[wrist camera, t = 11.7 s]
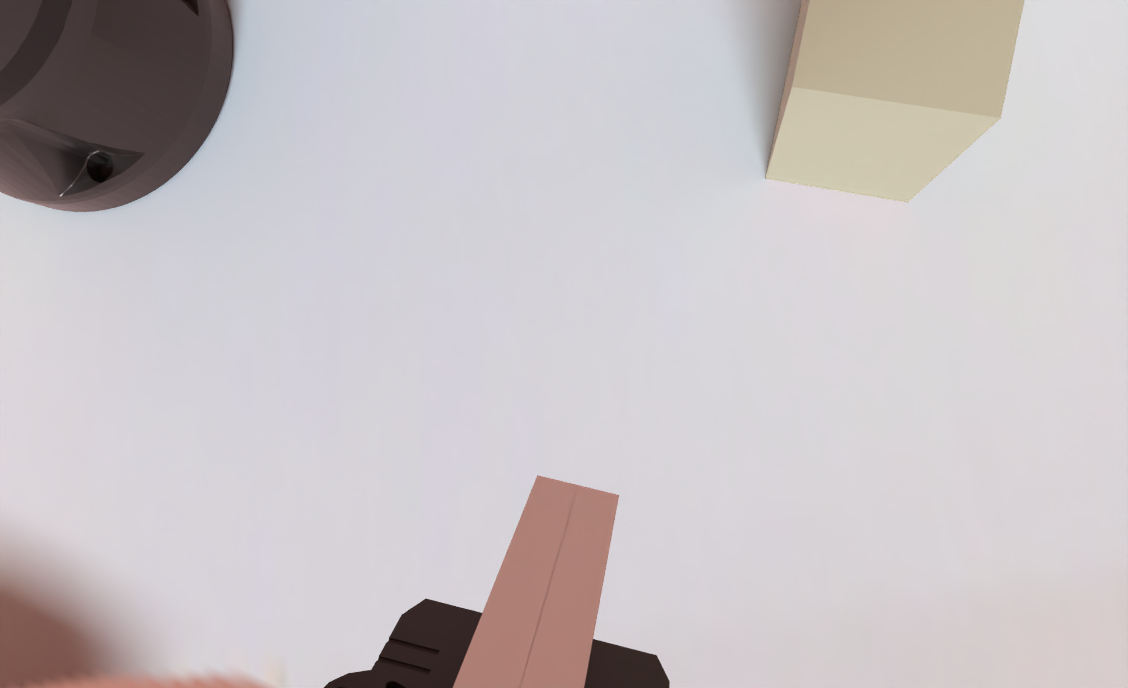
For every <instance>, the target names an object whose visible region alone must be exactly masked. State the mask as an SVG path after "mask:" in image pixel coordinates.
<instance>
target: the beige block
mask: <svg viewBox="0 0 1128 688" xmlns="http://www.w3.org/2000/svg"><path fill="white" fill-rule="evenodd" d="M1023 4H1024V0H802V3H801V7H800V12H799V17H798V22H797V27H796V32H795V37H794V42H793V46H792V51H791V56H790V61H789V66H788V71H787V76H786V81H785V85H784V90H783V95H782V100H781V105H780V110H779V115H778V119H777V124H776V129H775V134H774V139H773V144H772V149H771V154H770V158H769V163H768V168H767V173H766V178H765V179H770V180H776V181H782V182H788V183H794V184H800V185H806V186H812V187H818V188H824V189H830V190H836V191H842V192H848V193H854V194H860V195H866V196H872V197H878V198H883V199H889V200H895V201H901V202H907V203H908V202H909V201H910V200H911V199H912V198H913V197H914V196H915V195H917V194H918V193H919V192H920V191H921V190H922V189H923V188H924V187H925V186H926V185H928V184H929V183H930V182H931V181H932V180H933V179H934V178H935V177H936V176H937V175H939V174H940V173H941V172H942V171H943V170H944V169H945V168H946V167H947V166H948V165H950V164H951V163H952V162H953V161H954V160H955V159H956V158H957V157H958V156H959V155H961V154H962V153H963V152H964V151H965V150H966V149H967V148H968V147H969V146H970V145H972V144H973V143H974V142H975V141H976V140H977V139H978V138H979V137H980V136H981V135H983V134H984V133H985V132H986V131H987V130H988V129H989V128H990V127H991V126H993V125H994V124H995V123H996V122H997V121H998V120H999V119H1000V118H1001V113H1002V108H1003V103H1004V99H1005V94H1006V89H1007V84H1008V79H1009V74H1010V69H1011V64H1012V59H1013V54H1014V49H1015V44H1016V39H1017V34H1018V29H1019V24H1020V19H1021V14H1022V9H1023Z"/></svg>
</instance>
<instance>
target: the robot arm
mask: <svg viewBox="0 0 1128 688" xmlns="http://www.w3.org/2000/svg"><path fill="white" fill-rule="evenodd" d="M231 64H232V31H231V24H230V17H229V13H228V9H227V5H226V2H225V0H0V192H2V193H4V194H6V195H9V196H11V197H14V198H17V199H20V200H24V201H28V202H31V203H35V204H38V205H42V206H46V207H49V208H53V209H58V210H63V211H73V212H90V211H100V210H106V209H110V208H115V207H118V206H121V205H125V204H128V203H130V202H132V201H135V200H137V199H139V198H141V197H143V196H145V195H147V194H149V193H151V192H152V191H154V190H156V189H157V188H159V187H160V186H162V185H163V184H164V183H166V182H167V181H168V180H170V179H171V178H172V177H173V176H174V175H176V174H177V173H178V172H179V171H180V170H181V169H182V168H183V167H184V166H185V165H186V164H187V163H188V162H189V160H190V159H191V158H192V157H193V156H194V154H195V153H196V152H197V151H198V149H199V148H200V147H201V145H202V144H203V142H204V141H205V139H206V138H207V136H208V134H209V133H210V131H211V129H212V127H213V125H214V123H215V121H216V119H217V117H218V114H219V112H220V110H221V107H222V104H223V101H224V98H225V95H226V91H227V88H228V83H229V78H230V72H231ZM618 498H619V495H616V494H612V493H608V492H603V491H599V490H595V489H591V488H587V487H583V486H579V485H575V484H571V483H566V482H562V481H558V480H554V479H550V478H546V477H542V476H538V475H537V478H536V480H535V483H534V485H533V488H532V490H531V493H530V495H529V498H528V500H527V503H526V505H525V508H524V510H523V513H522V515H521V518H520V520H519V523H518V525H517V528H516V530H515V533H514V535H513V538H512V540H511V543H510V545H509V548H508V550H507V553H506V555H505V558H504V560H503V563H502V565H501V568H500V570H499V573H498V576H497V578H496V581H495V583H494V586H493V588H492V591H491V593H490V596H489V598H488V601H487V603H486V606H485V608H484V611H483V613H480V612H476V611H472V610H468V609H464V608H460V607H456V606H453V605H449V604H445V603H441V602H437V601H433V600H429V599H425V600H423V601H422V602H420V603H419V604H417V605H416V606H414V607H413V608H411V609H410V610H408V611H407V612H405V613H404V614H402V615H401V617H400V619H399V621H398V623H397V624H396V626H395V628H394V630H393V632H392V634H391V635H390V637H389V641H388V642H387V643H386V644H385V646H384V648H383V650H382V652H381V654H380V655H379V659H378V661H376V663H375V664H374V666H373V668H372V670H368V671H361V672H354V673H348V674H346V675H344V676H342V677H339V678H337V679H335V680H333V681H331V682H329V683H328V684H327V685H326V686H325V687H324V688H669V680H668V678H667V675H666V673H665V671H664V669H663V667H662V665H661V663H660V661H659V659H658V657H657V655H653V654H649V653H645V652H641V651H638V650H634V649H630V648H626V647H622V646H618V645H614V644H610V643H606V642H602V641H599V640H595V639H593V635H594V630H595V624H596V619H597V613H598V608H599V602H600V597H601V591H602V586H603V580H604V575H605V569H606V564H607V558H608V553H609V547H610V542H611V536H612V531H613V525H614V520H615V514H616V509H617V503H618Z"/></svg>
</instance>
